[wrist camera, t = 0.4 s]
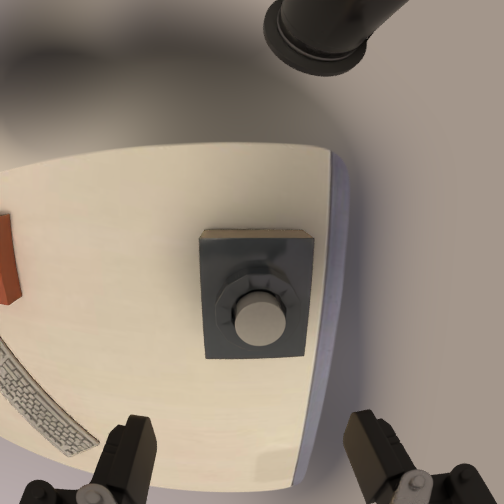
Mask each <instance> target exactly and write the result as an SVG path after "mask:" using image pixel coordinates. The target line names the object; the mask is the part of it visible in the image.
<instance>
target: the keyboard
mask: <svg viewBox="0 0 504 504" xmlns="http://www.w3.org/2000/svg"><path fill="white" fill-rule="evenodd" d="M0 392H1V393H2V395H3V396H4V397H5V398H6V399H7V400H8V401H9V403H10V404H11V405H12V406H13V407H14V408H15V409H16V410H17V411H18V412H19V413H20V414H21V415H22V416H23V417H24V418H25V419H26V420H27V421H28V422H29V423H30V424H31V425H32V426H33V427H34V428H35V429H36V430H37V431H38V432H39V433H40V434H41V435H42V436H43V437H44V438H46V439H47V440H48V441H49V442H50V443H51V444H52V445H54V446H55V447H56V448H57V449H58V450H60V451H61V452H62V453H63V454H64V455H66V456H67V457H72V456H74V455H77V454H79V453H81V452H84V451H86V450H89V449H91V448H93V447H96V446H98V445H99V442H98V441H97V440H96V439H95V438H94V437H93V436H91V435H90V434H89V433H88V432H87V431H85V430H84V429H83V428H82V427H81V426H80V425H79V424H77V423H76V422H75V421H74V420H73V419H72V418H71V417H70V416H69V415H68V414H67V413H65V412H64V411H63V410H62V409H61V408H60V407H59V406H58V405H57V404H56V403H55V402H54V401H53V400H52V399H51V398H50V397H49V396H48V395H47V394H46V393H45V391H44V390H43V389H42V388H41V387H40V386H39V385H38V384H37V383H36V382H35V380H34V379H33V378H32V377H31V376H30V375H29V374H28V372H27V371H26V370H25V369H24V368H23V366H22V365H21V364H20V363H19V362H18V360H17V359H16V358H15V356H14V355H13V354H12V353H11V351H10V350H9V349H8V347H7V346H6V345H5V343H4V342H3V340H2V339H1V338H0Z"/></svg>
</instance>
